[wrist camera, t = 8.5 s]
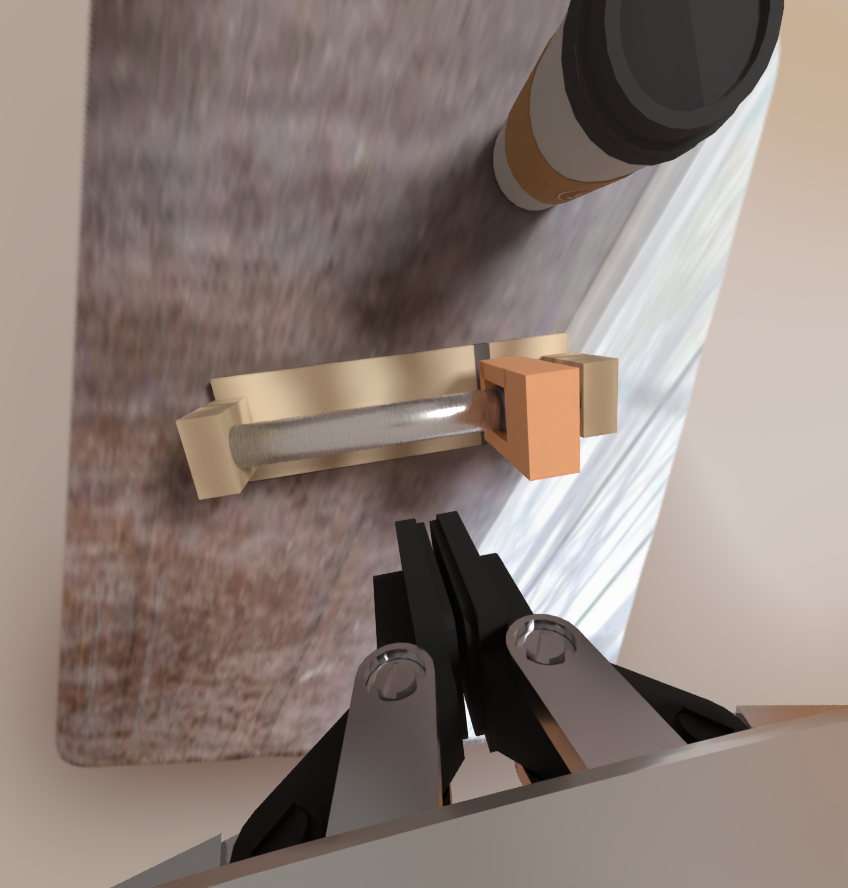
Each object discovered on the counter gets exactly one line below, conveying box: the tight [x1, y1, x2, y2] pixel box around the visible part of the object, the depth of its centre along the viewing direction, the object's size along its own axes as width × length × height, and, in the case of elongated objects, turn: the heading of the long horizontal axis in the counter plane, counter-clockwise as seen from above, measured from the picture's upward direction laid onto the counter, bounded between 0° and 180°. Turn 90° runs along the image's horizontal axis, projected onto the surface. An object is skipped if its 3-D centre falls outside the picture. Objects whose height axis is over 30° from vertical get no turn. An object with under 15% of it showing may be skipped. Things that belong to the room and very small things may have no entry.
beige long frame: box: [176, 333, 618, 500], centre depth 30 cm, size 27×8×7 cm, turn 97°
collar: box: [479, 356, 580, 481], centre depth 27 cm, size 3×6×9 cm, turn 7°
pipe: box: [229, 385, 581, 469], centre depth 28 cm, size 25×3×3 cm, turn 97°
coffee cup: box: [493, 0, 784, 211], centre depth 22 cm, size 8×8×15 cm
